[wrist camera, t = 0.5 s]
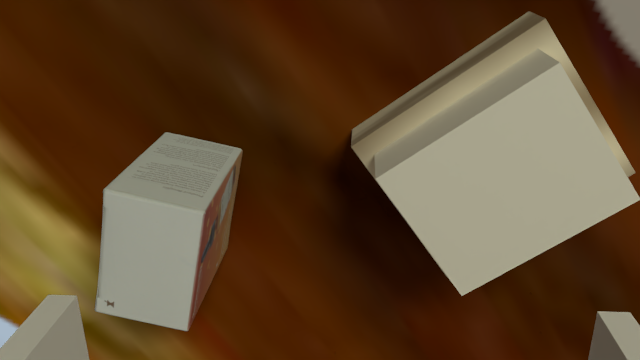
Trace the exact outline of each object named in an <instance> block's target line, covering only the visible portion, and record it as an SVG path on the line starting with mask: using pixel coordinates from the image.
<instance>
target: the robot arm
mask: <svg viewBox="0 0 640 360" xmlns="http://www.w3.org/2000/svg"><path fill="white" fill-rule="evenodd" d="M0 360H89V356H88V351H87V346H86V340H85V335H84V330H83V325H82V320H81V315H80V310H79V304H78V299H77V296H71V295H48V296H47V297H46V298H45V299H44V300H43V301H42V302H41V304H40V305H39V306H38V307H37V308H36V309H35V310H34V311H33V313H32V314H31V315H30V316H29V317H28V318H27V319H26V320H25V321H24V323H23V324H22V325H21V326H20V327H19V328H18V329H17V330H16V332H15V333H14V334H13V335H12V336H11V337H10V338H9V340H8V341H7V342H6V343H5V344H4V345H3V346H2V347H1V348H0ZM588 360H640V326H639V324H638V323H637V322H636V320H635V319H634V317H633V316H632V315H631V313H630V312H599V311H598V312H597V317H596V322H595V327H594V333H593V338H592V343H591V348H590V353H589V359H588Z"/></svg>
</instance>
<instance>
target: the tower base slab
mask: <svg viewBox="0 0 640 360" xmlns="http://www.w3.org/2000/svg"><path fill="white" fill-rule="evenodd" d="M537 49H540V50H541V51H543V52H544V53H546V54H547V55H549V56H551V57H552V58H554V59H555V60H557V61H558V62H560V64H561V65H562V67H563V69H564V70H565V72H566V74H567V75H568V77H569V79H570V81H571V82H572V84H573V86H574V87H575V89H576V91H577V92H578V94H579V96H580V98H581V99H582V101H583V103H584V104H585V106H586V108H587V109H588V111H589V113H590V114H591V116H592V118H593V120H594V121H595V123H596V125H597V126H598V128H599V130H600V131H601V133H602V135H603V137H604V138H605V140H606V142H607V143H608V145H609V147H610V148H611V150H612V152H613V154H614V155H615V157H616V159H617V160H618V162H619V164H620V165H621V167H622V169H623V171H624V172H625V174H626V176H627V177H629V176H631V175H632V174H634V173H635V171H634V169H633V168H632V166H631V164H630V163H629V161H628V159H627V157H626V156H625V154H624V152H623V151H622V149H621V147H620V145H619V144H618V142H617V140H616V139H615V137H614V135H613V133H612V132H611V130H610V128H609V127H608V125H607V123H606V121H605V120H604V118H603V116H602V115H601V113H600V111H599V109H598V108H597V106H596V104H595V103H594V101H593V99H592V97H591V96H590V94H589V92H588V91H587V89H586V87H585V85H584V84H583V82H582V80H581V79H580V77H579V75H578V74H577V72H576V70H575V68H574V67H573V65H572V63H571V62H570V60H569V58H568V56H567V55H566V53H565V51H564V50H563V48H562V46H561V44H560V43H559V41H558V39H557V38H556V36H555V34H554V32H553V31H552V29H551V27H550V26H549V24H548V22H547V20H546V19H545V18H543V17H541V16H538V15H536V14H534V13H531V12H527V13H526V14H524V15H523V16H521V17H520V18H518V19H517V20H515V21H514V22H512V23H511V24H509V25H508V26H506V27H505V28H503V29H502V30H500V31H499V32H497V33H496V34H494V35H493V36H491V37H490V38H488V39H487V40H485V41H484V42H482V43H481V44H479V45H478V46H476V47H475V48H473V49H472V50H470V51H469V52H467V53H466V54H464V55H463V56H461V57H460V58H458V59H457V60H455V61H454V62H452V63H451V64H449V65H448V66H446V67H445V68H443V69H442V70H440V71H439V72H437V73H436V74H434V75H433V76H432V77H430V78H429V79H427V80H426V81H424V82H423V83H421V84H420V85H418V86H417V87H415V88H414V89H412V90H411V91H409V92H408V93H406V94H405V95H403V96H402V97H400V98H399V99H397V100H396V101H394V102H393V103H391V104H390V105H388V106H387V107H385V108H384V109H382V110H381V111H379V112H378V113H376V114H375V115H373V116H372V117H370V118H369V119H367V120H366V121H364V122H363V123H361V124H360V125H358V126H357V127H355V128H354V129H352V140H351V148H352V149H353V150H354V152H355V153H356V154H357V156H358V157H359V158H360V160H361V161H362V162H363V164H364V165H365V167H366V168H367V169H368V171H369V172H370V173H371V175H372V176H373V177H374V179H375V156H374V154H376V153H377V152H379V151H380V150H382V149H383V148H385V147H387V146H388V145H390V144H391V143H393V142H394V141H396V140H397V139H399V138H400V137H402V136H404V135H405V134H407V133H408V132H410V131H411V130H413V129H414V128H416V127H417V126H419V125H421V124H422V123H424V122H425V121H427V120H428V119H430V118H431V117H433V116H435V115H436V114H438V113H439V112H441V111H442V110H444V109H445V108H447V107H448V106H450V105H452V104H453V103H455V102H456V101H458V100H459V99H461V98H462V97H464V96H465V95H467V94H469V93H470V92H472V91H473V90H475V89H476V88H478V87H479V86H481V85H483V84H484V83H486V82H487V81H489V80H490V79H492V78H493V77H495V76H496V75H498V74H500V73H501V72H503V71H504V70H506V69H507V68H509V67H510V66H512V65H513V64H515V63H517V62H518V61H520V60H521V59H523V58H524V57H526V56H527V55H529V54H531V53H532V52H534V51H535V50H537ZM375 180H376V179H375ZM376 181H377V180H376ZM377 183H378V182H377ZM378 184H379V183H378ZM379 186H380V184H379ZM380 187H381V186H380ZM381 188H382V187H381ZM382 190H383V188H382ZM383 191H384V190H383ZM384 192H385V191H384ZM385 194H386V193H385ZM386 195H387V194H386ZM387 196H388V195H387ZM388 198H389V197H388ZM389 199H390V198H389ZM390 200H391V199H390ZM391 202H392V201H391ZM392 203H393V202H392ZM393 205H394V203H393ZM394 206H395V205H394ZM395 207H396V206H395ZM396 209H397V207H396ZM397 210H398V209H397ZM398 211H399V210H398ZM399 213H400V212H399ZM400 214H401V213H400ZM401 215H402V214H401ZM402 217H403V216H402ZM403 218H404V217H403ZM404 219H405V218H404ZM405 221H406V220H405ZM406 222H407V221H406ZM407 224H408V222H407ZM408 225H409V224H408ZM409 226H410V225H409ZM410 228H411V226H410ZM411 229H412V228H411ZM412 230H413V229H412ZM413 232H414V231H413ZM414 233H415V232H414ZM415 234H416V233H415ZM416 236H417V235H416ZM417 237H418V236H417ZM418 238H419V237H418ZM419 240H420V239H419ZM420 241H421V240H420ZM421 243H422V241H421ZM422 244H423V243H422ZM423 245H424V244H423ZM424 247H425V245H424ZM425 248H426V247H425ZM426 249H427V248H426ZM427 251H428V249H427ZM428 252H429V251H428ZM429 253H430V252H429ZM430 255H431V254H430ZM431 256H432V255H431ZM432 257H433V256H432ZM433 259H434V258H433ZM434 260H435V259H434ZM435 262H436V260H435ZM436 263H437V262H436ZM437 264H438V263H437ZM438 266H439V264H438ZM439 267H440V266H439ZM440 268H441V267H440ZM441 270H442V268H441ZM442 271H443V270H442ZM443 272H444V271H443ZM444 274H445V273H444ZM445 275H446V274H445ZM446 276H447V275H446Z"/></svg>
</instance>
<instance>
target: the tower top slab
mask: <svg viewBox="0 0 640 360" xmlns="http://www.w3.org/2000/svg"><path fill="white" fill-rule="evenodd" d="M374 156H375V179H376V180H377V182H378V183H379V184H380V186H381V187H382V188H383V190H384V191H385V193H386V194H387V195H388V197H389V198H390V199H391V201H392V202H393V203H394V205H395V206H396V207H397V209H398V210H399V212H400V213H401V214H402V216H403V217H404V218H405V220H406V221H407V222H408V224H409V225H410V226H411V228H412V229H413V231H414V232H415V233H416V235H417V236H418V237H419V239H420V240H421V241H422V243H423V244H424V245H425V247H426V248H427V249H428V251H429V252H430V254H431V255H432V256H433V258H434V259H435V260H436V262H437V263H438V264H439V266H440V267H441V268H442V270H443V271H444V273H445V274H446V275H447V277H448V278H449V279H450V281H451V282H452V283H453V285H454V286H455V287H456V289H457V290H458V292H459V293H460V294H461V296H463V295H465V294H467V293H468V292H470V291H472V290H474V289H476V288H478V287H480V286H481V285H483V284H485V283H487V282H489V281H491V280H492V279H494V278H496V277H498V276H500V275H502V274H504V273H505V272H507V271H509V270H511V269H513V268H515V267H517V266H518V265H520V264H522V263H524V262H526V261H528V260H529V259H531V258H533V257H535V256H537V255H539V254H541V253H542V252H544V251H546V250H548V249H550V248H552V247H553V246H555V245H557V244H559V243H561V242H563V241H565V240H566V239H568V238H570V237H572V236H574V235H576V234H578V233H579V232H581V231H583V230H585V229H587V228H589V227H590V226H592V225H594V224H596V223H598V222H600V221H602V220H603V219H605V218H607V217H609V216H611V215H613V214H615V213H616V212H618V211H620V210H622V209H624V208H626V207H627V206H629V205H631V204H633V203H635V202H637V201H639V200H640V198H639V196H638V194H637V193H636V191H635V189H634V187H633V186H632V184H631V182H630V181H629V179H628V177H627V176H626V174H625V172H624V171H623V169H622V167H621V165H620V164H619V162H618V160H617V159H616V157H615V155H614V154H613V152H612V150H611V148H610V147H609V145H608V143H607V142H606V140H605V138H604V137H603V135H602V133H601V131H600V130H599V128H598V126H597V125H596V123H595V121H594V120H593V118H592V116H591V114H590V113H589V111H588V109H587V108H586V106H585V104H584V103H583V101H582V99H581V98H580V96H579V94H578V92H577V91H576V89H575V87H574V86H573V84H572V82H571V81H570V79H569V77H568V75H567V74H566V72H565V70H564V69H563V67H562V65H561V64H560V62H558V61H557V60H555V59H554V58H552V57H551V56H549V55H547V54H546V53H544V52H543V51H541V50H540V49H537V50H535V51H534V52H532V53H531V54H529V55H527V56H526V57H524V58H523V59H521V60H520V61H518V62H517V63H515V64H513V65H512V66H510V67H509V68H507V69H506V70H504V71H503V72H501V73H500V74H498V75H496V76H495V77H493V78H492V79H490V80H489V81H487V82H486V83H484V84H483V85H481V86H479V87H478V88H476V89H475V90H473V91H472V92H470V93H469V94H467V95H465V96H464V97H462V98H461V99H459V100H458V101H456V102H455V103H453V104H452V105H450V106H448V107H447V108H445V109H444V110H442V111H441V112H439V113H438V114H436V115H435V116H433V117H431V118H430V119H428V120H427V121H425V122H424V123H422V124H421V125H419V126H417V127H416V128H414V129H413V130H411V131H410V132H408V133H407V134H405V135H404V136H402V137H400V138H399V139H397V140H396V141H394V142H393V143H391V144H390V145H388V146H387V147H385V148H383V149H382V150H380V151H379V152H377V153H376V154H374Z"/></svg>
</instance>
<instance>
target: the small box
mask: <svg viewBox="0 0 640 360" xmlns="http://www.w3.org/2000/svg"><path fill="white" fill-rule="evenodd" d="M242 153H243V150H242V149H240V148H236V147H231V146H227V145H222V144H218V143H214V142H209V141H205V140H200V139H196V138H191V137H187V136H182V135H177V134H172V133H168V132H166V133H164V134H163V135H162V136H161V137H160V138H159V139H158V140H157V141H156V142H155V143H153V144H152V145H151V146H150V147H149V148H148V149H147V150H146V151H145V152H144V153H142V154H141V155H140V156H139V157H138V158H137V159H136V160H135V161H134V162H133V163H132V164H130V165H129V166H128V167H127V168H126V169H125V170H124V171H123V172H122V173H121V174H120V175H119V176H118V177H117V178H115V179H114V180H113V181H112V182H111V183H110V184H109V185H108V186H107V187H106V188H105V189H104V190H103V221H102V237H101V252H100V265H99V279H98V289H97V296H96V303H95V311H96V312H100V313H105V314H109V315H113V316H118V317H123V318H127V319H132V320H137V321H141V322H146V323H150V324H155V325H159V326H164V327H169V328H173V329H179V330H183V331H188V330H189V329H190V326H191V324H192V322H193V320H194V318H195V315H196V313H197V311H198V309H199V307H200V305H201V303H202V301H203V299H204V296H205V294H206V292H207V290H208V288H209V286H210V284H211V282H212V279H213V277H214V275H215V273H216V271H217V269H218V267H219V265H220V262H221V260H222V258H223V256H224V254H225V252H226V250H227V247H228V240H229V232H230V225H231V218H232V212H233V206H234V200H235V195H236V189H237V183H238V177H239V171H240V165H241V159H242Z"/></svg>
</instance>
